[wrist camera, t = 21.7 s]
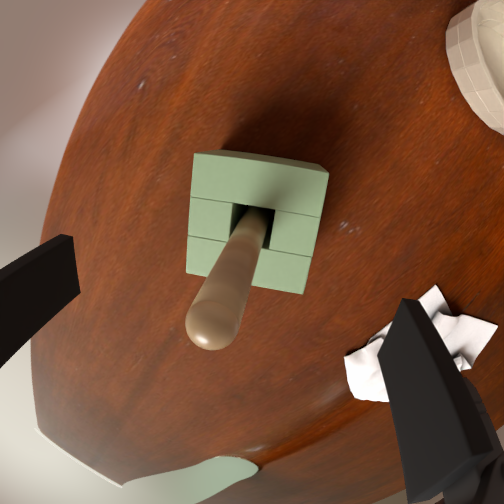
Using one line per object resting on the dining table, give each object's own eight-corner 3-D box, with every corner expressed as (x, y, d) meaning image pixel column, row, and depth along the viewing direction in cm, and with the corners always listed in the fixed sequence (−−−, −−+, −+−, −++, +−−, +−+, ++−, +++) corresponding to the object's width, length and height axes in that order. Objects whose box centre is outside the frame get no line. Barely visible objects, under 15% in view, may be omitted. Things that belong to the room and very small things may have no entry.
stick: (251, 193, 26) (177, 311, 9) (274, 196, 25) (236, 324, 9) (249, 214, 26) (178, 353, 10) (270, 218, 26) (231, 366, 10)
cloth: (318, 357, 31) (319, 371, 29) (477, 251, 24) (488, 259, 22) (384, 426, 36) (386, 438, 33) (502, 353, 28) (509, 363, 26)
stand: (219, 149, 24) (194, 152, 18) (319, 164, 24) (329, 172, 17) (210, 241, 28) (185, 272, 21) (301, 257, 27) (303, 294, 21)
